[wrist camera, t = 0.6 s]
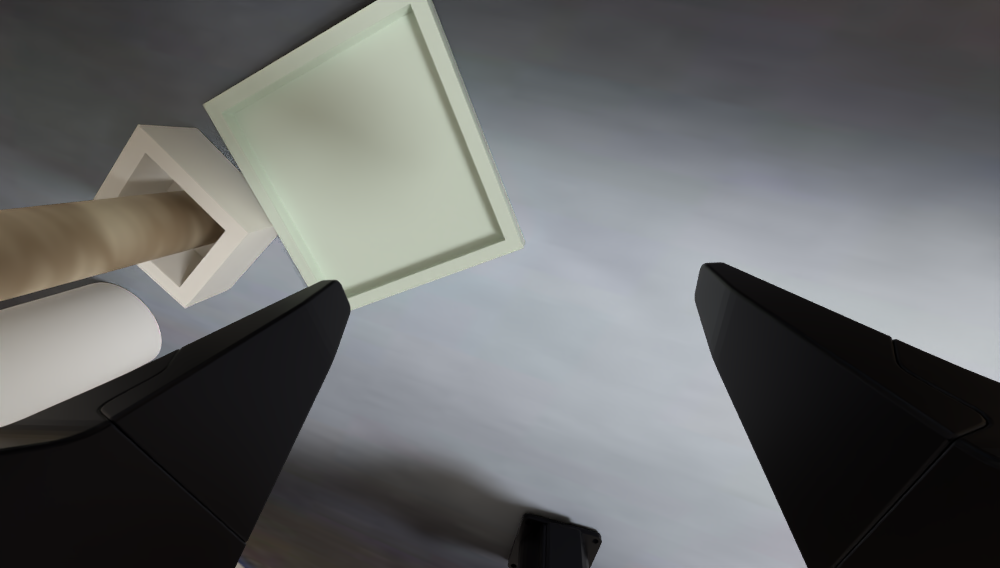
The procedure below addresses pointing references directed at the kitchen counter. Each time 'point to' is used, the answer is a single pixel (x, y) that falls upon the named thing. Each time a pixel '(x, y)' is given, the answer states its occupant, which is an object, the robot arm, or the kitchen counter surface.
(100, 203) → the dowel
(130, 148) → the holder
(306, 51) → the tray
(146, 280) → the kitchen counter surface
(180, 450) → the robot arm
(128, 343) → the cylindrical container
